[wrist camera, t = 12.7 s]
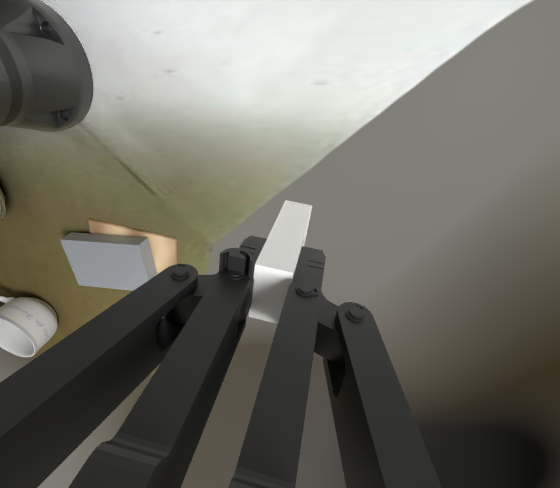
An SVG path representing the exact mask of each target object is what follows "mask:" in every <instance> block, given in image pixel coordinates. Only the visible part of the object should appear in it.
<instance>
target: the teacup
mask: <svg viewBox="0 0 560 488" xmlns="http://www.w3.org/2000/svg"><path fill="white" fill-rule="evenodd" d="M0 302H3V303H5V304H4V305H3V306H1V307H0V347H1V348H3V349H5V350H6V351H8V352H10V353H12V354H15V355H18V356H21V357H31V356H33V355H34V354H35V353H36V352H37V351H38V350H39V349H40V348H41V347H42V346H43V345H44V344H45V343H46V342H47V341H48V340H49V339H50V338H51V337H52V336H53V335H54V333H55V332H56V330H57V327H58V322H57V315H56V313H55V311H54V310H53V308H52V307H51V306H50V305H48V304H47V303H46V302H44V301H42V300H40V299H38V298H29V297H19V298H14V297H4V296H0Z"/></svg>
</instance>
